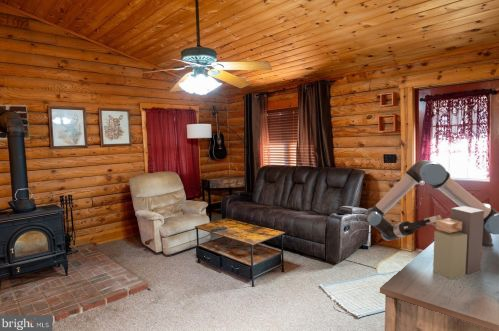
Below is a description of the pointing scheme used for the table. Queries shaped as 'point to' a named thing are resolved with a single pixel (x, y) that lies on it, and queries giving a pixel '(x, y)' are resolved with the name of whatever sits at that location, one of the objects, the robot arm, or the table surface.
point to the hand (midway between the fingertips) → (438, 218)
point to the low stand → (450, 254)
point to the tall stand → (471, 235)
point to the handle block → (447, 225)
